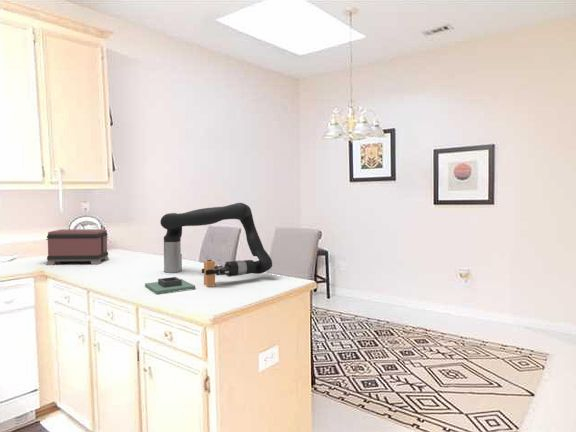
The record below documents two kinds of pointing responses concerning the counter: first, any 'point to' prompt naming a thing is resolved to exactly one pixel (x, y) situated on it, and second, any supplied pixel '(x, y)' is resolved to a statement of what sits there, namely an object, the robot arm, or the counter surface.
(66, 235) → the reddish brown chest
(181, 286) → the board
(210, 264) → the plug
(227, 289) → the counter surface
